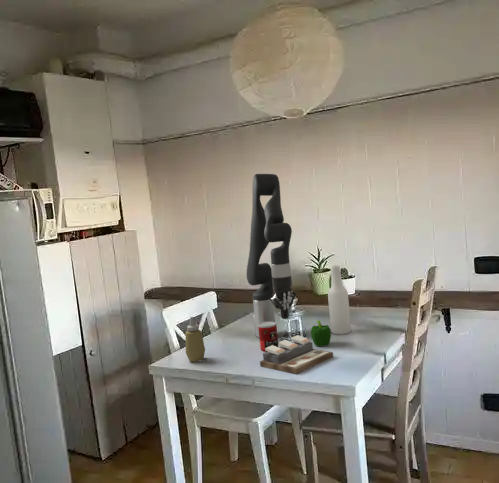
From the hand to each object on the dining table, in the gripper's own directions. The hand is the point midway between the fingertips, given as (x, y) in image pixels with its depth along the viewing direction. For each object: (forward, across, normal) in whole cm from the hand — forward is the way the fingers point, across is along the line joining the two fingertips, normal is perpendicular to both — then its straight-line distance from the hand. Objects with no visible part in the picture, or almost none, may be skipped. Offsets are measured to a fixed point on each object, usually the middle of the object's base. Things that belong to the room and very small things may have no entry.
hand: (285, 318), depth 222 cm
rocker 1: (+11, +9, +2) cm, 14 cm away
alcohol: (+17, -39, -4) cm, 43 cm away
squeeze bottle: (+17, +20, -33) cm, 42 cm away
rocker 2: (+11, +1, +2) cm, 11 cm away
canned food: (+17, -5, -16) cm, 23 cm away
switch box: (+16, +1, +6) cm, 17 cm away
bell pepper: (+17, -20, 0) cm, 26 cm away
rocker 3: (+11, -6, +1) cm, 13 cm away
